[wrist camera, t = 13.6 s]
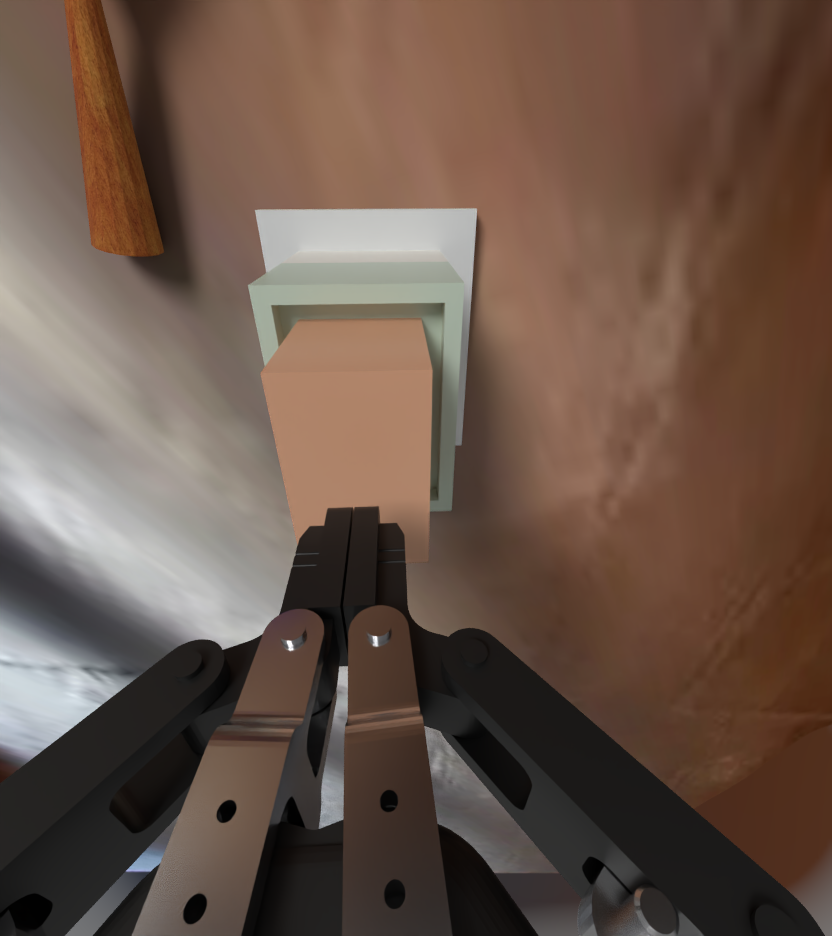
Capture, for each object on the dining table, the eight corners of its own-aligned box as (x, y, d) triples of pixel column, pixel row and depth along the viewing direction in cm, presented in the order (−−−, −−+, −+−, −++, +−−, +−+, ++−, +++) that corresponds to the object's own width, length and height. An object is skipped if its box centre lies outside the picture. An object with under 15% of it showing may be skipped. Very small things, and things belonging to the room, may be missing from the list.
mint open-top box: (459, 438, 32) (486, 537, 23) (301, 442, 32) (264, 545, 23) (473, 208, 24) (524, 220, 15) (259, 209, 23) (174, 223, 14)
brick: (420, 476, 22) (428, 562, 17) (323, 479, 22) (302, 567, 17) (421, 317, 17) (432, 369, 12) (298, 319, 17) (260, 373, 12)
